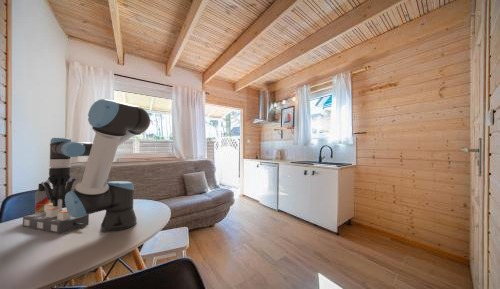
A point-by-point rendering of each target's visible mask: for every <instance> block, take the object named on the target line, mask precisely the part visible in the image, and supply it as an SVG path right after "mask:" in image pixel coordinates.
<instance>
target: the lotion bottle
mask: <svg viewBox="0 0 500 289" xmlns="http://www.w3.org/2000/svg"><path fill="white" fill-rule="evenodd" d="M34 200H35V201H34V214H37V213H41V212H44V205H45V204H50V203H51V200H48V198H47V195H46V192H45V188H44V186H43V185H42V184H41V183H38V188H37V191H35V199H34Z"/></svg>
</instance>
